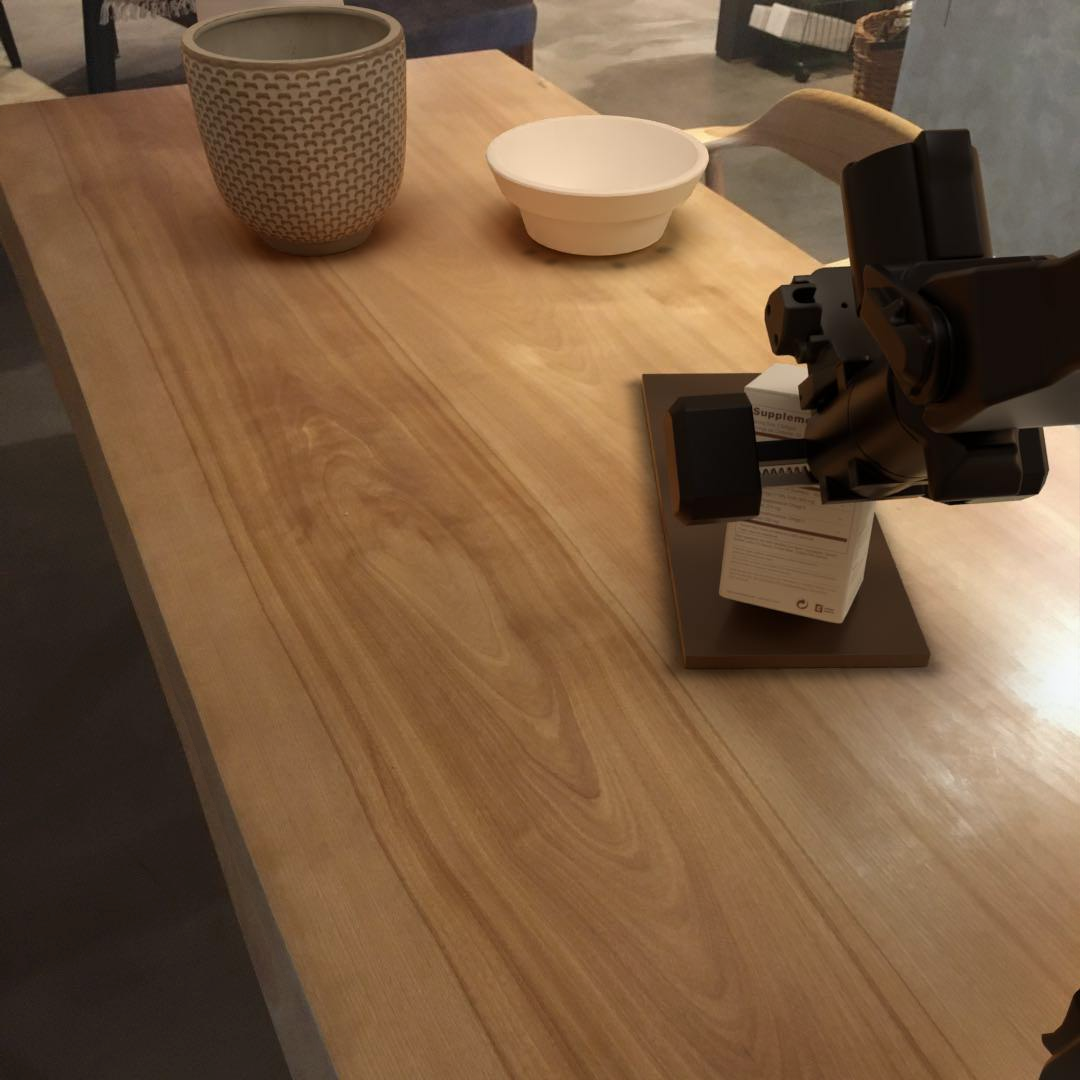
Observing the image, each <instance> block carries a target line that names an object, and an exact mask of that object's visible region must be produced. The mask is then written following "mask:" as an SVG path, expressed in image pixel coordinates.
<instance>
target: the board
mask: <svg viewBox="0 0 1080 1080" xmlns="http://www.w3.org/2000/svg"><path fill="white" fill-rule="evenodd" d="M762 373H763V372H712V373H711V372H708V373H707V372H705V373H704V372H701V373H697V372H695V373H693V372H691V373H686V372H685V373H642V374H641V390H642V395H643V397H642V398H643V402H644V403H643V404H644V409H645V416H646V423H647V429H648V435H649V442H650V449H651V456H652V462H653V469H654V475H655V482H656V487H657V488H656V489H657V494H658V495H657V496H658V502H659V508H660V514H661V520H662V527H663V534H664V535H663V536H664V540H665V547H666V554H667V560H668V567H669V573H670V580H671V587H672V594H673V600H674V604H675V605H674V606H675V607H674V608H675V613H676V619H677V626H678V633H679V639H680V646H681V653H682V658H683V666H684V669H769V668H771V669H772V668H773V669H777V668H781V669H782V668H783V669H784V668H786V669H787V668H877V667H878V668H882V667H883V668H885V667H886V668H888V667H889V668H890V667H894V668H895V667H897V668H898V667H928V665H929V662H930V658H931V651H930V649H929V646H928V643H927V641H926V638H925V635H924V633H923V631H922V628H921V625H920V622H919V621H918V617H917V615H916V612H915V610H914V607H913V605H912V602H911V600H910V598H909V594H908V592H907V590H906V588H905V585H904V582H903V580H902V577H901V575H900V572H899V569H898V567H897V564H896V562H895V560H894V556H893V554H892V551H891V549H890V546H889V544H888V542H887V539H886V536H885V534H884V531H883V529H882V527H881V523H880V521H879V519H878V516H877V514H876V511H875V512H874V517H873V523H872V529H871V535H870V541H869V547H868V553H867V558H866V564H865V570H864V577H863V581H862V583H861V585H860V587H859V589H858V592H857V594H856V596H855V598H854V600H853V602H852V604H851V606H850V608H849V610H848V613H847V614H846V616H845V618H844V620H843V622H842V623H833V622H828V621H823V620H818V619H814V618H809V617H805V616H800V615H796V614H792V613H787V612H783V611H779V610H774V609H770V608H766V607H761V606H757V605H753V604H749V603H744V602H740V601H736V600H732V599H728V598H723V597H722V596H721V595H719V588H720V580H721V572H722V563H723V555H724V546H725V538H726V530H727V523H717V524H704V525H690V526H684V525H683V524H682V523H681V522H679V521H678V520H677V519H676V518H675V517H673V515H672V506H671V496H670V486H669V477H668V467H667V457H666V447H665V438H664V428H663V418H662V417H663V416H664V414H665V413H666V412H667V411H668V409H669V408H670V407H671V406H672V405H673V403H674V402H675V401H676V400H677V399H678V397H680V396H695V395H710V394H726V393H741V392H744V388H745V386H747V385H748V384H749V383H750V382H752V381H753V380H754V379H756V378H757V377H758V376H759V375H761V374H762Z"/></svg>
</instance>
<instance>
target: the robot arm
mask: <svg viewBox="0 0 1080 1080" xmlns="http://www.w3.org/2000/svg"><path fill="white" fill-rule="evenodd" d="M838 179H839V188H840V195H841V196H840V197H841V204H842V211H843V212H842V213H843V220H844V227H845V235H846V242H847V243H846V244H847V252H848V258H849V265H845V266H844V265H843V266H825V267H820V268H816V269H815V270H814V271H813V272H811V274H799V275H798V274H797V275H793V277H792V278H791V279H792V280H791V282H790V283H789V284H781V285H779V286H778V287H777V288H775V289H774V290H773V291H772V292H771V293H770V294H769V296H768V299H767V301H766V304H765V307H764V313H763V314H764V316H763V317H764V318H763V319H764V320H763V321H764V325H765V329H766V333H767V337H768V341H769V344H770V349H771V353H772V354H774V355H775V356H777V357H785V356H790V357H793V358H794V359H795V362H796V365H806V367H807V370H808V377H807V378H806V379H805V380H804V381H803V382H802V383H800V384H799V385H798V391H799V400H800V408H801V410H810V411H811V418H810V419H809V420H808V423H807V426H806V429H805V434H804V438H802V439H787V440H773V441H759V442H756V434H755V426H754V417H753V408H752V404H751V402H750V400H749V398H748V396H747V394H746V392H741V393H726V394H710V395H695V396H680V397H678V399H677V400H676V401H675V402H674V403H673V405H672V406H671V407H670V408H669V409H668V411H667V412H666V413H665V414H664V416H663V417H662V418H663V428H664V438H665V447H666V457H667V467H668V477H669V486H670V496H671V506H672V515H673V517H675V518H676V519H677V520H678V521H679V522H681V523H682V524H683V525H684V526H690V525H704V524H717V523H730V522H739V521H750V520H751V519H754V518H756V517H757V516H759V514H760V506H761V499H762V490H772V489H785V488H799V487H813V486H820V494H821V503H822V505H828V504H842V503H855V502H868V501H876V502H879V501H892V500H893V501H894V500H906V499H918V498H924V499H927V500H930V501H933V502H935V503H939V504H943V505H946V506H964V505H978V504H980V505H981V504H992V503H993V504H995V503H1005V502H1008V503H1009V502H1019V501H1023V500H1026V499H1029V498H1032V497H1035V496H1038V495H1039V494H1041V493H1040V492H1041V491H1042V489H1043V488H1044V486H1045V484H1046V482H1047V478H1048V476H1049V472H1050V464H1049V458H1048V452H1047V451H1048V450H1047V444H1046V436H1045V431H1044V430H1045V429H1044V428H1050V427H1051V428H1052V427H1062V426H1063V427H1065V426H1077V425H1078V426H1079V425H1080V248H1079V249H1077V250H1075V251H1073V252H1071V253H1068V254H1067V255H1065V256H1061V257H1058V256H1056V255H1054V254H1037V255H1036V254H1035V255H1016V256H1015V255H1013V256H996V257H994V251H993V245H992V239H991V232H990V231H991V230H990V224H989V218H988V210H987V203H986V196H985V189H984V182H983V175H982V168H981V160H980V155H979V152H978V148H976V147H975V146H973V145H972V140H971V131H970V130H969V129H968V128H966V127H965V128H947V129H946V128H944V129H943V128H942V129H922V130H921V131H920V132H919V133H918V134H917V135H916V137H915V138H914V139H913V140H912V141H910V142H905V143H902V144H897V145H894V146H890V147H888V148H884V149H882V150H879V151H876V152H874V153H872V154H870V155H868V156H866V157H863V158H862V159H861V158H860V160H858V161H851V162H848V163H847V164H845V166H844V167H843V169H842V170H841V172H840V174H839V177H838ZM807 463H808V466H809V471H808V469H807V467H806V466H803V467H802V469H801V471H800V469H799V467H795V468H794V471H792V469H791V467H788V468H786V473H785V472H784V470H783V468H779V470H778V474H777V472H776V470H775V468H773V469H771V472H770V474H769V472H768V470H767V469H764V470H763V474H761V472H760V470H759V467H765V466H779V465H793V464H807ZM1040 1038H1041V1043H1042V1045H1043V1046H1044V1047H1045V1049H1046V1050H1047V1052H1048V1053H1049V1054H1050V1055H1051V1056H1050V1057H1049V1058H1048V1060H1046V1062H1045V1063H1044V1064H1043V1067H1042V1069H1041V1072H1040V1074H1039V1077H1038V1080H1080V988H1078V989H1077V990H1076V991H1075V992H1074V993H1073V995H1072V998H1071V1000H1070V1003H1069V1006H1068V1009H1067V1012H1066V1015H1065V1017H1064V1018H1063V1021H1062V1023H1061V1025H1060V1026H1058V1027H1057V1028H1056V1029H1055V1030H1054V1031H1053V1032H1048V1033H1047V1032H1046V1033H1041V1036H1040Z"/></svg>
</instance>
